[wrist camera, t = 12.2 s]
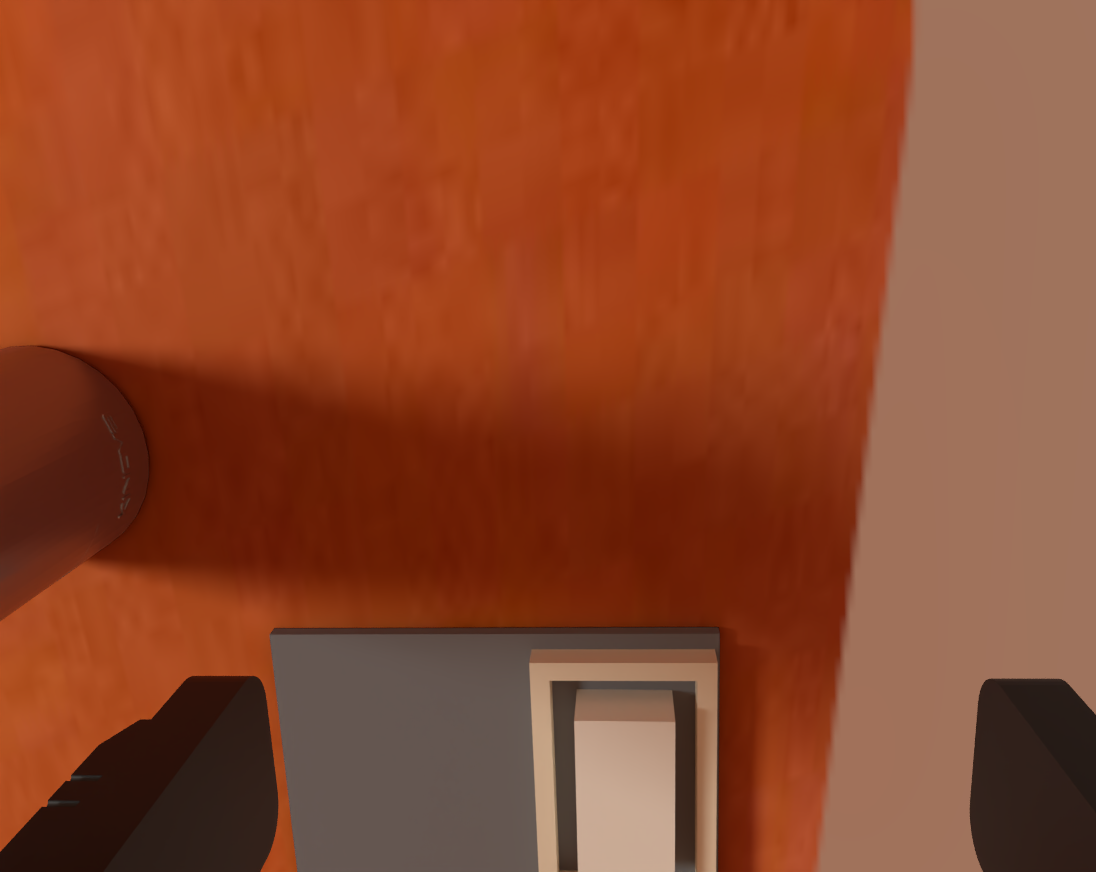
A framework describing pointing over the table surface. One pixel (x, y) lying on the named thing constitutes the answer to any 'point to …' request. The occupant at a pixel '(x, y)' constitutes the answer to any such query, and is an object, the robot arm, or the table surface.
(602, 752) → the tile
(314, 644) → the mat
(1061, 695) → the robot arm
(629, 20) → the table surface
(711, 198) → the table surface
